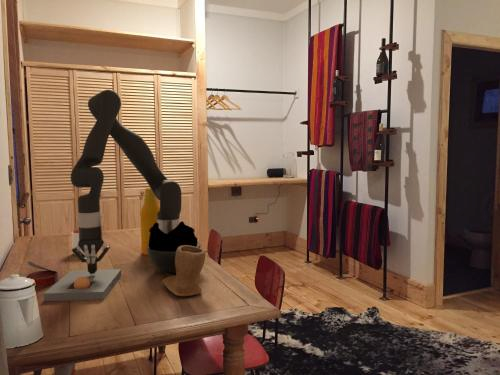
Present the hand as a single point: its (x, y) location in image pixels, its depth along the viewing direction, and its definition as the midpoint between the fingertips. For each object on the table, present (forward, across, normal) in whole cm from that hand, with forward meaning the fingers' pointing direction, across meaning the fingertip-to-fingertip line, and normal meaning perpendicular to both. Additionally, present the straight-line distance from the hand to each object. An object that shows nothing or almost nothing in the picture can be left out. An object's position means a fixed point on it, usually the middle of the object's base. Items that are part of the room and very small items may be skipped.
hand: (92, 273), depth 148 cm
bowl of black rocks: (+4, -28, -10) cm, 29 cm away
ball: (+1, +1, +10) cm, 10 cm away
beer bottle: (+4, -15, -39) cm, 42 cm away
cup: (+4, +15, -42) cm, 44 cm away
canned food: (+4, +18, -2) cm, 18 cm away
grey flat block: (+3, +1, +6) cm, 6 cm away
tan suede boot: (+4, -33, +12) cm, 36 cm away
